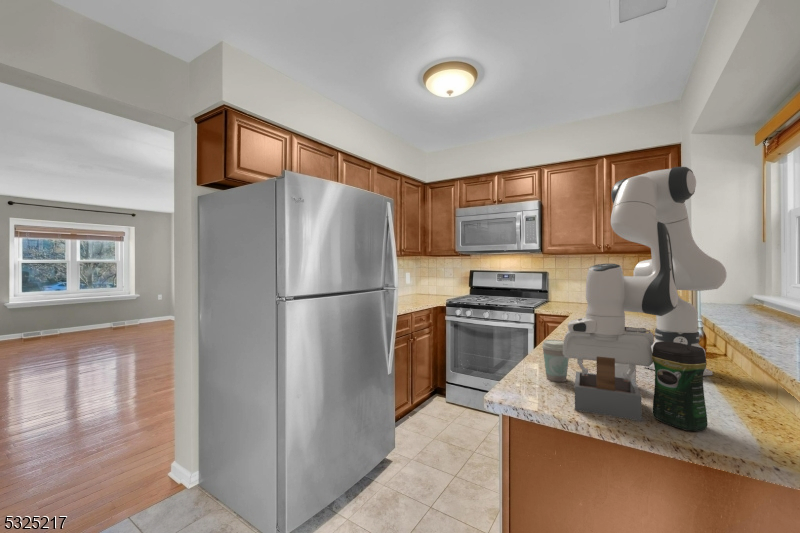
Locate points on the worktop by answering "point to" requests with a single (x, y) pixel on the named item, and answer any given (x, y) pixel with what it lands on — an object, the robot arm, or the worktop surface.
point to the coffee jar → (679, 385)
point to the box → (608, 397)
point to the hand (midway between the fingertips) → (605, 378)
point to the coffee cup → (555, 360)
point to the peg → (606, 373)
